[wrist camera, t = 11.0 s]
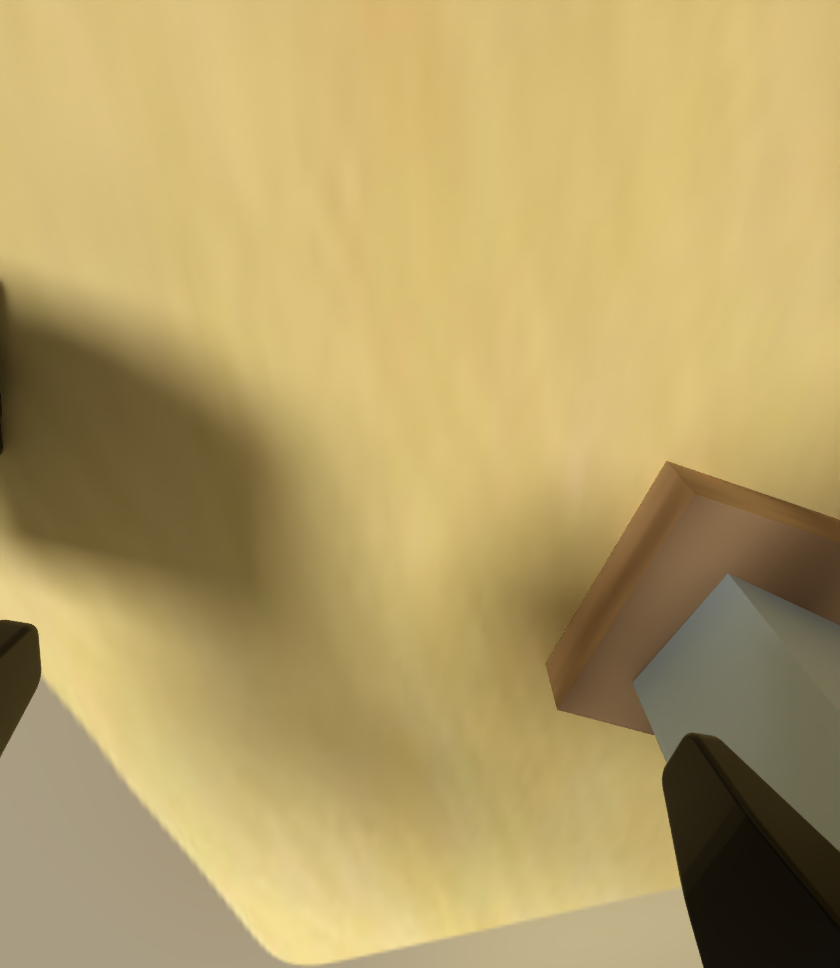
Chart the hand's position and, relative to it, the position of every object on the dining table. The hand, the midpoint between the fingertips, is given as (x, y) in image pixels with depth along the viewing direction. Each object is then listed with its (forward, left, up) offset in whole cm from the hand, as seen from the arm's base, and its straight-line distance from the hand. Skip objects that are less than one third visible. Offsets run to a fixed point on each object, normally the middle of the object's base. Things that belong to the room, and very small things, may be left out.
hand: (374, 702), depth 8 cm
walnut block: (+14, -6, -14) cm, 20 cm away
